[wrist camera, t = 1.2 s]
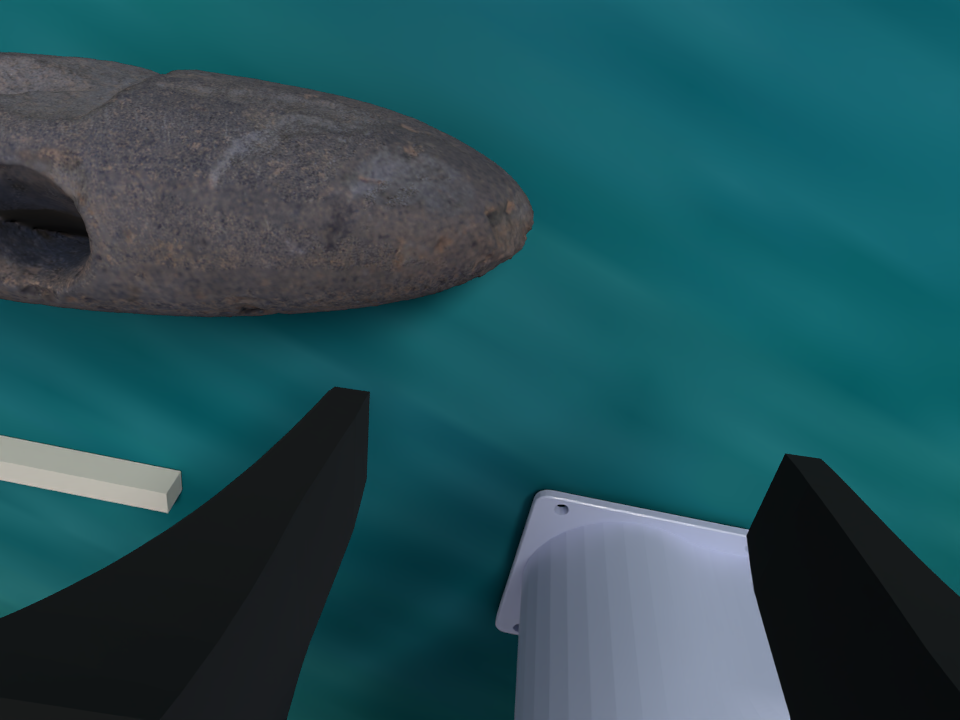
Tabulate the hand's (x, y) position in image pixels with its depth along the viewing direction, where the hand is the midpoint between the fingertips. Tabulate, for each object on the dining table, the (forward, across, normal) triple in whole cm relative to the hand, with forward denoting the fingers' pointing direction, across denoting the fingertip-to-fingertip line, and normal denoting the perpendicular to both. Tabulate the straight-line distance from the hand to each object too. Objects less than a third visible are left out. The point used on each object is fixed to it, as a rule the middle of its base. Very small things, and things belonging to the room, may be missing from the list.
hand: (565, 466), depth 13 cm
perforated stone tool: (+10, +8, -1) cm, 13 cm away
